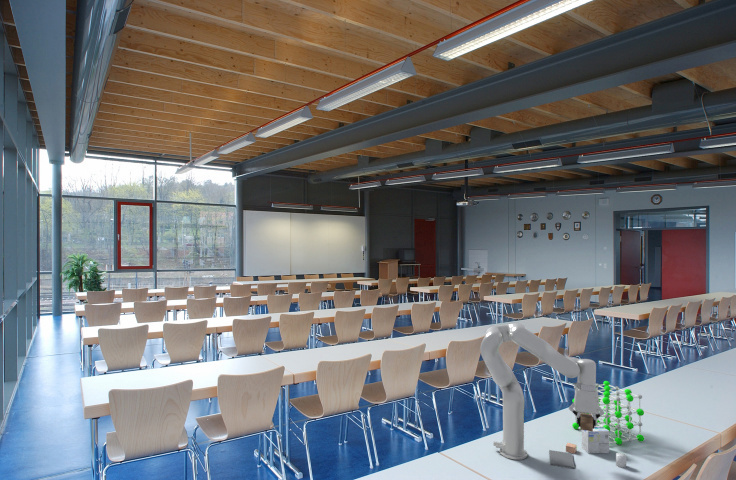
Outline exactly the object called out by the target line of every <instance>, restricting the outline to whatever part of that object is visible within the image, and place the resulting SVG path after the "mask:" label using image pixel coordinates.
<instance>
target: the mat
mask: <svg viewBox="0 0 736 480" xmlns="http://www.w3.org/2000/svg"><path fill="white" fill-rule="evenodd" d="M548 455H549V456H548V457H549V465H550V466H554V467H555V466H556V467H561V468H567V469H571V470H572V469H573V470H574V469H575V463H574V457H573V453H570V452H566V451H565V452H564V451H560V450H559V451H558V450H553V449H552V450H551V449H549V450H548Z"/></svg>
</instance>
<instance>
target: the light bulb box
mask: <svg viewBox="0 0 736 480" xmlns="http://www.w3.org/2000/svg"><path fill="white" fill-rule="evenodd" d="M603 426H604V425H603ZM603 426H596V427H595V426H594V429H593V431H586V430H581V449H583V450H584V451H585V452H586V453H587V454H610V444H609V442H610V437H609V435H610V431H609V430H607V429H606V428H604V427H603Z"/></svg>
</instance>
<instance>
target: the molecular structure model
mask: <svg viewBox="0 0 736 480" xmlns="http://www.w3.org/2000/svg"><path fill="white" fill-rule="evenodd" d="M603 386H604V387H603ZM573 388H574V392H575V391H576V388H578V387H577V386H574V385H573ZM599 388H601V389H599ZM596 390H597V392H598V393H600V395H599V394H598V397H599V406H600V408H601V409H602V410H603V411H604V414H603V415H602V416H600V417H599V418H597V420H596V426H603V427H604V428H606V429H607V430H609V432H610V431H611V432H613V433H609V439H611V440H613V441H609V445H610V444H614V443H615V444H616V445H618V446H619V445H622V444H623V442H628V441H629V442H633V441H635V440H637V441H638V442H641V443H642V442H644V441H645V436H644V435H643V434H642V428H641V427H643V423H642V421H641V416H644V414H645V412H644V410H643V409H642V408H641V399H643V395H641V394H634V393H633V391H632V390H631V389H629V388H625V390H624V389H621V388H620V387H619V386H617V385H616V386H613V385H611V383H610V381H608V380H604V381H603V384H599V383H596ZM613 390H616V391H613ZM620 391H621V392H620ZM611 392H612V393H611ZM614 396H615V397H614ZM620 396H621V398H620ZM622 397H623V398H622ZM611 398H613V399H611ZM634 399H638V408H637V409H634V408H633V407H631V402H633V401H634ZM621 400H626V401H627V405H625V404H623V403H622V402H621ZM571 401H572V404H573V403H574V398H572V400H571ZM600 402H601V404H600ZM611 407H613V408H611ZM625 409H627V411H626V410H625ZM574 410H575V409H574ZM613 410H614V411H613ZM575 411H576V410H575ZM632 411H633V412H632ZM576 412H577V411H576ZM599 412H600V411H599ZM622 412H624V413H622ZM611 413H612V414H611ZM586 414H589V413H586ZM633 414H636V415H638V420H639V421H638V422H637V421H635V420H633V417H632V415H633ZM573 415H574V419H575V420H574V422H573V423H572V428H573V429H574V430H581V429H580V427H579V425H578V424H577V416H576V415H575V414H574V413H573ZM595 415H596V414H595ZM624 415H625V416H624ZM602 417H604V418H602ZM614 417H615V418H614ZM623 421H626V423H625V422H623ZM614 422H615V423H614ZM603 424H604V425H603ZM621 424H622V425H621ZM610 425H611V426H613V427H610ZM635 426H639V434H637V435H635V434H633V433H632V432H631V431H632V430H633V429H634V428H635ZM623 428H627V430H624V429H623ZM613 429H615V430H613ZM622 431H623V432H622ZM623 434H625V435H626V434H628V437H626V436H624V435H623ZM612 436H615V438H614V437H612ZM632 436H633V437H634V438H633V437H632ZM621 437H622V438H624V439H623V440H622V438H621Z"/></svg>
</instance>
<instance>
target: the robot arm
mask: <svg viewBox="0 0 736 480" xmlns="http://www.w3.org/2000/svg"><path fill="white" fill-rule="evenodd" d="M506 342H513V343H514V344H516V345H517V346H519V347H521V348H522V349H524V350H525V351H527V352H528V353H530V354H531V355H533V356H534V357H536V358H537V359H539V360H540V361H542V362H544V363H545V364H546V365H548V366H549V367H550V368H552V369H553V370H555V371H557V372H558V373H559V374H561V375H563V376H564V377H567V378H569V379H574V378H577V381H576V382H574V383H573V387H574V386H577V387H578V388H576V391H575V390H574V398H573V399H574V403H573V402H572V403H571V405H570V406H568V410H569V411H571V412H572V414H573V415H574V414H575V415H576V416H577V424H578V425H579V427H580V414H581V413H589V414H592V417H593V429H594V426H595V427H596V420H597V418H598V419H599V417H600V416H602V415H603V414H604V413H605V411H603V410H602V409H603V408H601V407H600V406H601V405H600V406H599V403H600V402H599V397H598V395H599V392H597V390H596V389H597V387H596V384H597V382H596V381H597V364H596V362H595V361H594V360H592V359H589V358H577V357H573V356H565V355H563V354H562V353H560V352H559V351H558V350H556V349H555V348H554V347H553V346H552V345H551V344H550V343H548V342H547V341H546V340H545V339H543V338H541V337H539V336H538V335H536V334H535V333H533V332H532V331H530V330H528V329H527V328H526V327H525V326H524V325H523V324H522V323H519V322H515V323H506V324H500V325H493V326H490V327H488V328H487V329H486V331H485V333H484V337H483V339H482V340H481V343H480V350H479V351H480V355H481V358H482V360H483V361H484V363H485V366H486V367H487V370H488V371H489V374H490V375H491V378H492V379H493V382H494V383H495V385H498V388H499V389H500V391H501V392H502V393H501V394H502V441H500V442H498V441H493V446H495V449H499V453H500V455H501V456H503V457H504V458H507V459H511V460H515V461H516V460H519V461H520V460H524V459H526V458H528V451H527V450H526V449H525V430H524V429H525V419H524V418H525V416H524V415H525V397H524V396H525V395H524V392H523V388H522V385H520V382H519V381H518V379H517V377H516V375H515V374H514V372H513V370H512V368H511V367H510V365H508V363H507V362H505V360H504V359H503V357H502V355H501V353H500V351H499V350H500V346H502V344H503V343H506ZM575 410H576V411H577V412H576V411H575ZM599 411H600V412H599ZM595 414H596V415H595ZM575 415H574V416H575ZM600 418H601V417H600Z"/></svg>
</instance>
